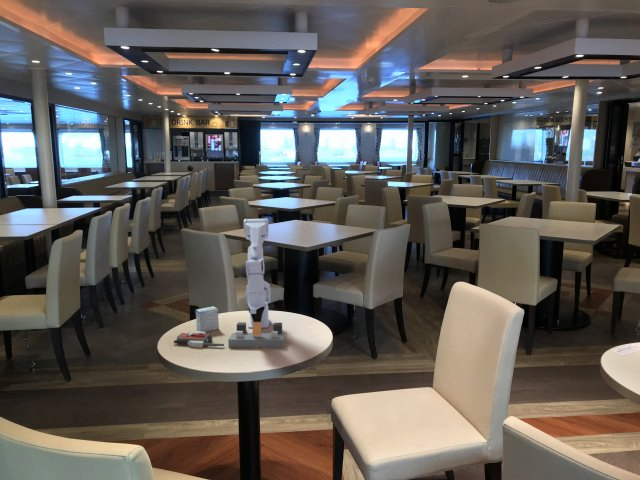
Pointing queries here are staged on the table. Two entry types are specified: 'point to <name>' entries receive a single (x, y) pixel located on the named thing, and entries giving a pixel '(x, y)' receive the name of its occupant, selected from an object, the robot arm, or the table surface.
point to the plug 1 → (241, 327)
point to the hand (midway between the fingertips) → (257, 326)
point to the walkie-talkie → (196, 339)
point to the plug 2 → (277, 327)
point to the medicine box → (207, 319)
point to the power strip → (257, 340)
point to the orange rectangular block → (256, 328)
